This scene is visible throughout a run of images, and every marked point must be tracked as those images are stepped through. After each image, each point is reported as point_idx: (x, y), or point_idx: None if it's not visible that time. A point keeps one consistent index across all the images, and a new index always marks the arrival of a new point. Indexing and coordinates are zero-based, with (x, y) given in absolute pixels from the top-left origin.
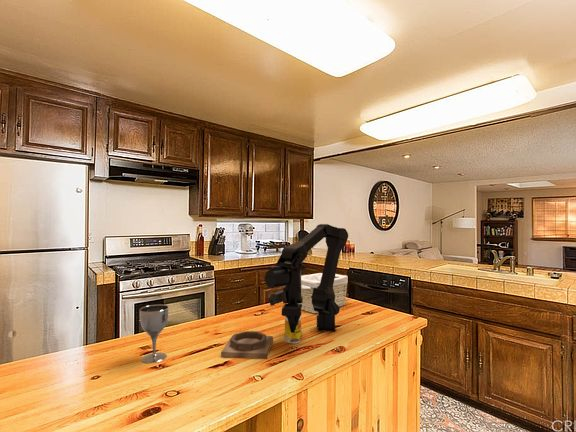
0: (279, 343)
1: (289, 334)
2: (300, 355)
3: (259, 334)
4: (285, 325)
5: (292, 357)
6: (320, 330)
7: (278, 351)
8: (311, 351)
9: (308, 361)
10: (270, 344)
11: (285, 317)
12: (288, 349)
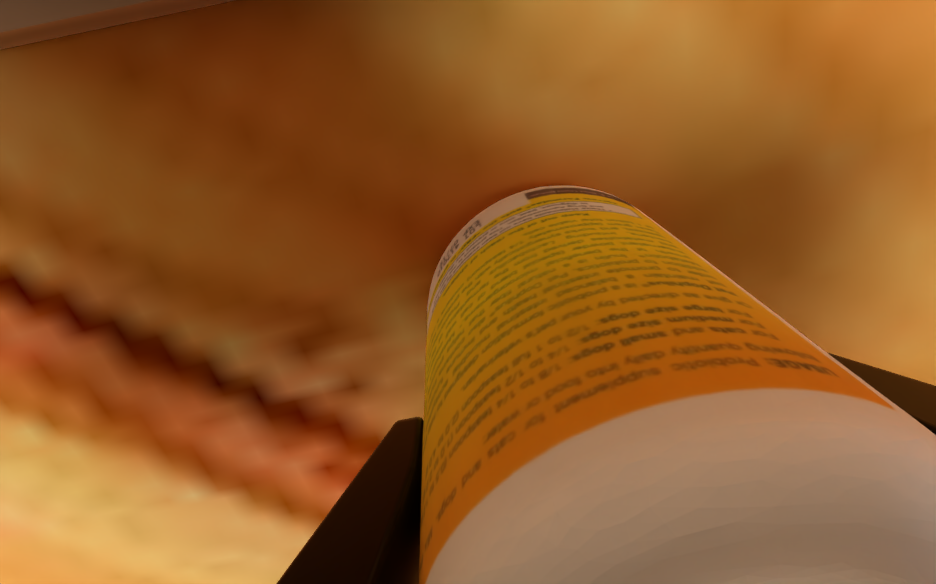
0: (404, 121)
1: (427, 352)
2: (142, 477)
3: None
4: (513, 337)
5: (38, 417)
6: None
7: (102, 201)
8: (300, 544)
9: (50, 566)
10: (146, 8)
11: (685, 483)
12: (240, 315)
